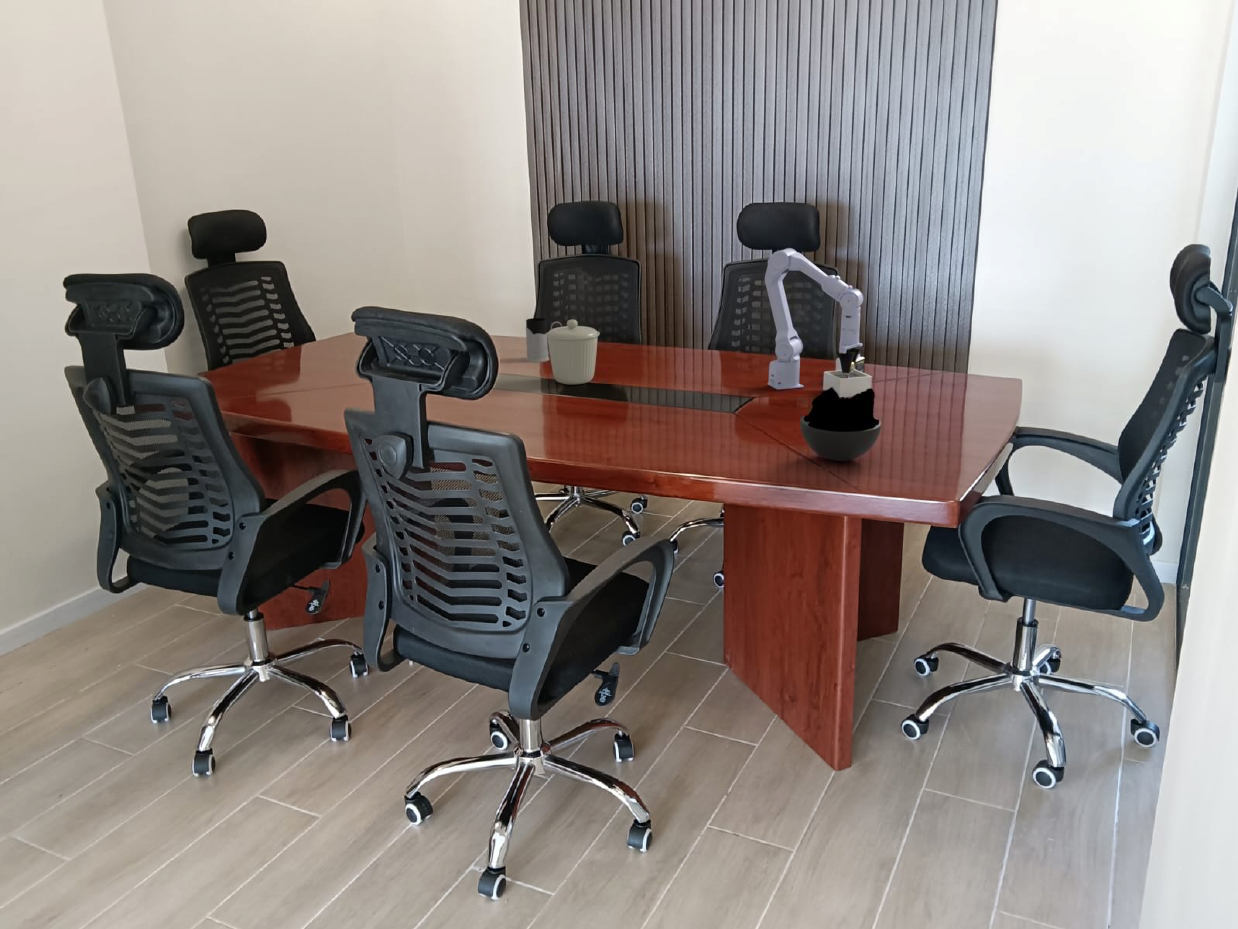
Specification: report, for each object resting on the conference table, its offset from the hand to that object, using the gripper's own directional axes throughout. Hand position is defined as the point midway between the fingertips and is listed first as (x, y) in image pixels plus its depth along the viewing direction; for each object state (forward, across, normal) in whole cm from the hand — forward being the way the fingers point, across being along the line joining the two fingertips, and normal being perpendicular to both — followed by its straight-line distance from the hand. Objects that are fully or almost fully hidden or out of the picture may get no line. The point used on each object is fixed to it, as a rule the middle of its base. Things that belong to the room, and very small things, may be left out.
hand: (847, 371), depth 319 cm
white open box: (+7, 0, 0) cm, 7 cm away
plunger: (+2, 0, 0) cm, 2 cm away
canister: (+7, -25, +87) cm, 91 cm away
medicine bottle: (+7, +19, +5) cm, 21 cm away
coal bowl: (+7, -69, -19) cm, 72 cm away
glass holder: (+7, +1, +116) cm, 116 cm away
